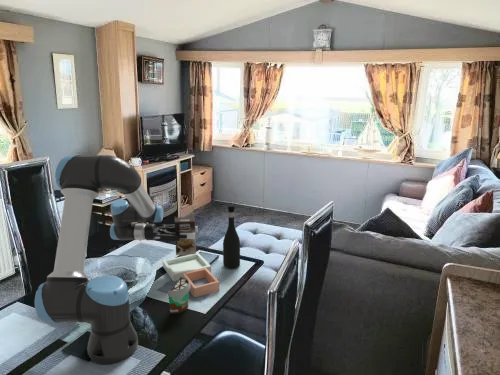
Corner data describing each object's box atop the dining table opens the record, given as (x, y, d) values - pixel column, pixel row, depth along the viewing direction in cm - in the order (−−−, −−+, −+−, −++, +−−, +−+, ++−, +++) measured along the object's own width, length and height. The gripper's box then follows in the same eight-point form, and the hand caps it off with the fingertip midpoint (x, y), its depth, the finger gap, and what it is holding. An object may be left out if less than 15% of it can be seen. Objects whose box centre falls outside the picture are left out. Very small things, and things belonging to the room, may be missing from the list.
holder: (194, 297, 145) (194, 288, 144) (182, 281, 157) (182, 273, 156) (219, 290, 150) (219, 281, 149) (206, 276, 162) (206, 267, 161)
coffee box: (175, 255, 162) (174, 222, 158) (176, 249, 168) (174, 217, 164) (196, 254, 164) (195, 221, 159) (196, 248, 170) (194, 216, 166)
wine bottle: (220, 264, 172) (219, 205, 165) (233, 260, 177) (233, 202, 170) (229, 271, 166) (229, 209, 159) (243, 266, 171) (243, 206, 163)
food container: (184, 318, 131) (183, 293, 129) (168, 315, 133) (167, 291, 130) (195, 299, 143) (195, 277, 141) (181, 297, 144) (180, 275, 142)
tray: (173, 281, 157) (172, 275, 156) (162, 266, 170) (162, 260, 170) (211, 271, 166) (211, 265, 165) (198, 258, 179) (198, 252, 178)
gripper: (152, 231, 174) (199, 231, 174) (139, 248, 155) (192, 249, 155) (151, 216, 173) (199, 217, 172) (138, 232, 153) (192, 233, 153)
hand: (196, 232), depth 164 cm, fingers closed on coffee box, 7 cm apart
